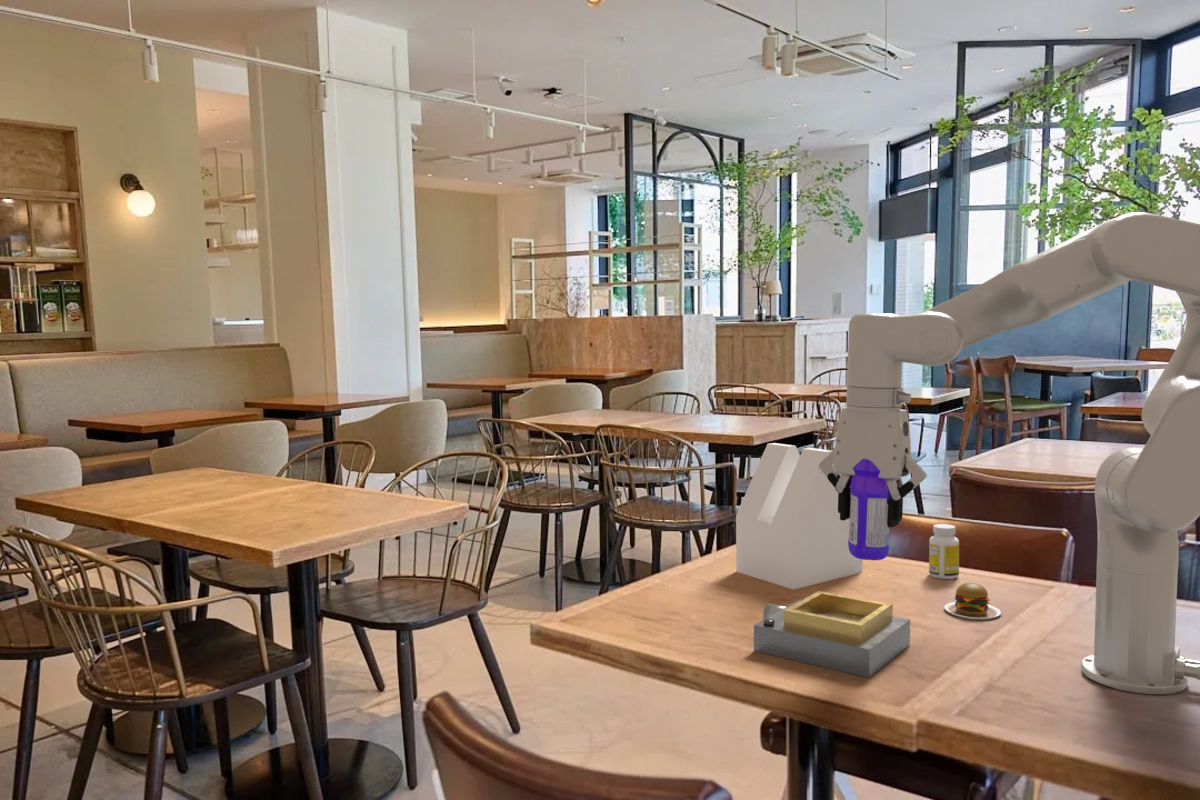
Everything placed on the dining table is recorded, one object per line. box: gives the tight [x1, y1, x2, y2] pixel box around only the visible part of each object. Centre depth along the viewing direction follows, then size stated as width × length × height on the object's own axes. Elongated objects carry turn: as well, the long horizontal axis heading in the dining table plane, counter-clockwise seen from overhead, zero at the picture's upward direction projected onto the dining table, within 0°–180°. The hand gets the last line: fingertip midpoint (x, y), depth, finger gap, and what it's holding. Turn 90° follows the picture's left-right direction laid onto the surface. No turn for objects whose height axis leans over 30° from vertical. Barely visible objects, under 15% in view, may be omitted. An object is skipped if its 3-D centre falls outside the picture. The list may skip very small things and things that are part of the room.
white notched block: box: [735, 442, 864, 590], centre depth 181 cm, size 19×15×25 cm
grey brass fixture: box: [753, 590, 911, 678], centre depth 140 cm, size 22×16×6 cm
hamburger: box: [943, 582, 1002, 621], centre depth 155 cm, size 12×12×6 cm
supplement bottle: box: [928, 523, 960, 580], centre depth 177 cm, size 5×5×10 cm
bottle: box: [848, 459, 891, 561], centre depth 133 cm, size 7×6×17 cm
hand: (869, 521), depth 133 cm, fingers closed on bottle, 6 cm apart
